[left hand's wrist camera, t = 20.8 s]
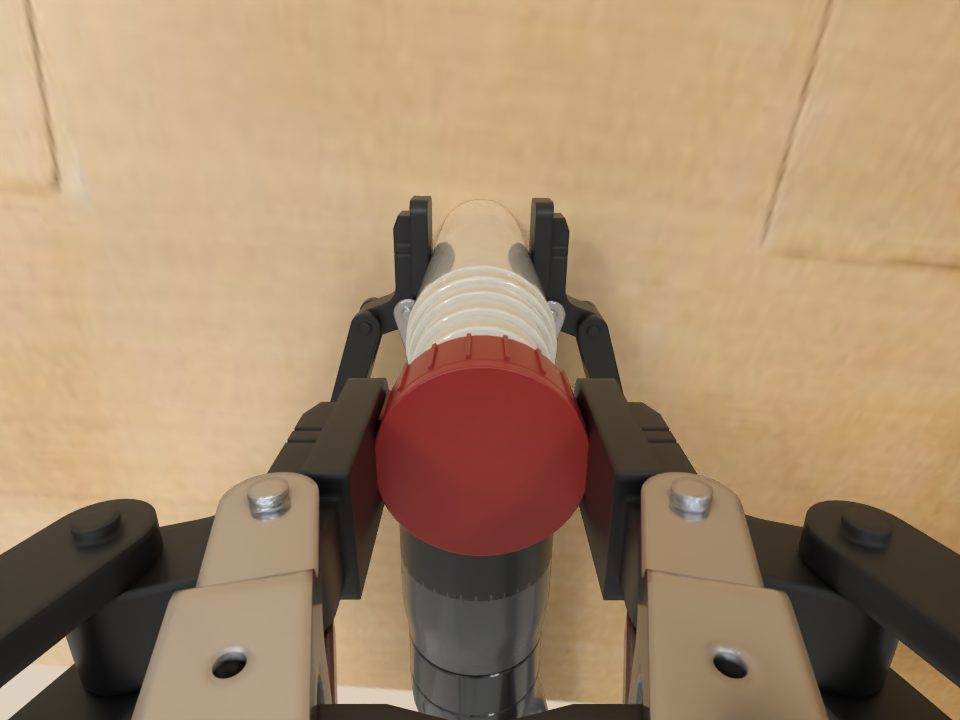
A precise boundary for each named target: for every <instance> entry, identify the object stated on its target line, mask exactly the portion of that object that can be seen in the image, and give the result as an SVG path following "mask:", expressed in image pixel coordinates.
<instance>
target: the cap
mask: <svg viewBox="0 0 960 720" xmlns="http://www.w3.org/2000/svg"><path fill="white" fill-rule="evenodd" d="M378 420H379V421H381V423H380V426H379V429H378V432H377V435H376V438H375V454H376V467H377V481H378V491H379V494H380V496H381V499H382V500H383V502H384V504H385V505H386V507H387V509H388V510H389V512H390V513H391V514H392V515H393V517H394V518H395V519H396V520H397V521H398V522H399V523H400V524H401V525H402V526H403V527H404V528H405V529H406V530H408V531H409V532H410V533H412V534H413V535H414V536H416V537H417V538H419V539H421V540H422V541H424V542H426V543H428V544H430V545H432V546H435V547H437V548H440V549H443V550H446V551H449V552H453V553H458V554H463V555H473V556H491V555H500V554H506V553H510V552H515V551H518V550H521V549H524V548H527V547H529V546H532V545H534V544H536V543H538V542H540V541H542V540H543V539H545V538H546V537H548V536H550V535H551V534H553V533H554V532H555V531H556V530H557V529H559V528H560V527H561V526H562V525H563V524H564V523H565V522H566V521H567V520H568V519H569V518H570V517H571V515H572V514H573V513H574V511H575V510H576V509H577V507H578V506H579V504H580V502H581V500H582V498H583V496H584V494H585V484H586V471H587V458H588V445H589V438H588V434H587V431H586V428H585V424H584V421H583V418H582V415H581V413H580V410H579V407H578V404H577V401H576V400H575V397H574V394H573V392H572V389H571V387H570V384H569V381H568V378H567V375H566V373H565V371H564V370H563V371H560V370H559V369H558V368H557V366H556V365H554V364H553V363H552V362H551V361H550V360H549V359H548V358H547V357H545V356H544V355H543V354H542V353H541V350H540V349H539V348H537V349H536V350H535V349H533V348H531V347H530V346H528V345H526V344H523V343H521V342H518V341H515V340H512V339H508V336H507V335H503V337H499V336H490V335H473V336H471V333H468V334H467V336H466V337H459V338H456V339H452V340H448V341H446V342H443V343H441V344H438V345H437V344H436V343H434V344H432V347H431V348H430V349H429V350H427V351H425V352H424V353H422V354H421V355H420V356H418V357H417V358H416V359H414V360H413V361H412V362H411V363H410V364H408V363H406V364H405V365H404V368H403V371H402V374H401V375H400V376H399V378H398V379H397V381H396V383H395V385H394V386H393V388H392V391H390V390H388V392H387V395H386V398H385V400H384V403H383V406H382V409H381V412H380V415H379V418H378Z"/></svg>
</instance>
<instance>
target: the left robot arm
mask: <svg viewBox="0 0 960 720" xmlns="http://www.w3.org/2000/svg"><path fill="white" fill-rule="evenodd" d="M387 392H388V383H387V380H386V378H349V379H348V380H347V382H346V384H345V385H344V387H343V389H342V391H341V393H340V395H339V397H338V399H337V401H336V402H320V403H319V404H317V405H316V406H315V407H313V408H312V409H310V410H309V411H307V412H306V413H304V414H303V415H302V417H301V418H300V420H299V422H298V423H297V425H296V427H295V431H293V432H292V433H291V435H290V437H289V438H288V442H287V443H285V445H284V446H283V448H282V450H281V451H280V453H279V455H278V456H277V458H276V460H275V461H274V463H273V465H272V466H271V468H270V470H269V471H268V473H267V474H263V475H259V476H256V477H253V478H250V479H247V480H245V481H243V482H241V483H239V484H237V485H235V486H234V487H233V488H231V489H230V490H228V491H227V492H226V493H225V494H224V495H223V497H222V498H221V499H220V502H219V504H218V507H217V511H216V514H215V515H214V516H211V517H207V518H203V519H199V520H194V521H188V522H183V523H178V524H173V525H168V526H163V527H159V523H158V519H157V515H156V511H155V509H154V508H153V506H152V505H150V504H149V503H147V502H144V501H141V500H135V499H117V500H110V501H105V502H100V503H96V504H93V505H89V506H87V507H84V508H81V509H79V510H76V511H74V512H72V513H70V514H68V515H66V516H64V517H62V518H61V519H59V520H57V521H56V522H54V523H52V524H51V525H49V526H47V527H46V528H44V529H42V530H41V531H39V532H38V533H36V534H34V535H33V536H31V537H29V538H28V539H26V540H24V541H23V542H21V543H19V544H18V545H16V546H14V547H13V548H11V549H9V550H8V551H6V552H4V553H3V554H1V555H0V688H1V687H2V686H3V685H5V684H6V683H7V682H8V681H10V680H11V679H12V678H13V677H15V676H16V675H17V674H18V673H20V672H21V671H22V670H23V669H25V668H26V667H27V666H29V665H30V664H31V663H32V662H34V661H35V660H36V659H37V658H39V657H40V656H41V655H42V654H44V653H45V652H46V651H48V650H49V649H50V648H51V647H53V646H54V645H55V644H56V643H58V642H59V641H60V640H61V639H63V638H64V637H65V636H66V638H67V641H68V644H69V647H70V650H71V653H72V656H73V659H74V662H75V664H73V665H72V666H71V667H70V668H69V669H68V670H66V671H65V672H64V673H63V674H62V675H60V676H59V677H58V678H57V679H56V680H55V681H53V682H52V683H51V684H50V685H49V686H47V687H46V688H45V689H44V690H43V691H42V692H40V693H39V694H38V695H37V696H36V697H34V698H33V699H32V700H31V701H30V702H28V703H27V704H26V705H25V706H24V707H23V708H21V709H20V710H19V711H18V712H17V713H15V714H14V715H13V716H12V717H11V718H10V719H8V720H448V719H444V718H440V717H436V716H432V715H428V714H424V713H420V712H416V711H412V710H408V709H404V708H400V707H396V706H392V705H388V704H337V671H336V634H335V626H334V617H335V615H336V612H337V608H338V605H339V602H340V599H361V595H362V591H363V587H364V583H365V579H366V575H367V571H368V567H369V563H370V559H371V555H372V551H373V547H374V543H375V539H376V535H377V531H378V527H379V523H380V519H381V515H382V511H383V507H384V502H383V500H382V499H381V496H380V494H379V491H378V481H377V467H376V454H375V438H376V435H377V432H378V429H379V426H380V423H381V421H379V420H378V418H379V415H380V412H381V409H382V406H383V403H384V400H385V398H386V395H387ZM574 397H575V400H576V401H577V404H578V407H579V410H580V413H581V415H582V418H583V421H584V424H585V428H586V431H587V434H588V438H589V445H588V458H587V471H586V484H585V494H584V496H583V498H582V500H581V502H580V504H579V507H580V511H581V515H582V518H583V522H584V526H585V530H586V534H587V538H588V542H589V546H590V549H591V553H592V557H593V561H594V565H595V569H596V573H597V577H598V580H599V584H600V588H601V592H602V596H603V600H624V601H625V604H626V608H627V617H626V626H625V634H624V671H623V704H572V705H568V706H564V707H560V708H556V709H552V710H548V711H544V712H540V713H536V714H532V715H528V716H524V717H520V718H516V719H512V720H952V719H950V718H949V717H948V716H947V715H946V714H945V713H943V712H942V711H941V710H940V709H939V708H937V707H936V706H935V705H934V704H933V703H932V702H930V701H929V700H928V699H927V698H926V697H924V696H923V695H922V694H921V693H920V692H919V691H917V690H916V689H915V688H914V687H913V686H911V685H910V684H909V683H908V682H907V681H905V680H904V679H903V678H902V677H901V676H900V675H898V674H897V673H896V672H895V671H894V670H892V669H891V668H890V665H891V662H892V659H893V656H894V653H895V650H896V647H897V645H898V642H899V640H900V641H901V642H902V643H904V644H905V645H906V646H907V647H909V648H910V649H911V650H912V651H914V652H915V653H916V654H918V655H919V656H920V657H921V658H923V659H924V660H925V661H926V662H928V663H929V664H930V665H931V666H933V667H934V668H935V669H936V670H938V671H939V672H940V673H942V674H943V675H944V676H945V677H947V678H948V679H949V680H950V681H952V682H953V683H954V684H955V685H957V686H958V687H959V688H960V555H959V554H957V553H956V552H954V551H952V550H951V549H949V548H947V547H946V546H944V545H942V544H941V543H939V542H937V541H936V540H934V539H932V538H931V537H929V536H927V535H926V534H924V533H922V532H921V531H919V530H918V529H916V528H914V527H913V526H911V525H909V524H908V523H906V522H904V521H903V520H901V519H899V518H897V517H895V516H894V515H892V514H889V513H887V512H885V511H883V510H880V509H877V508H874V507H871V506H868V505H864V504H860V503H856V502H849V501H837V500H834V501H824V502H820V503H817V504H815V505H813V506H811V507H810V508H809V510H808V511H807V514H806V518H805V522H804V526H803V527H799V526H794V525H788V524H783V523H778V522H773V521H768V520H763V519H759V518H755V517H752V516H748V515H745V514H744V511H743V507H742V504H741V502H740V499H739V498H738V497H737V495H736V494H735V493H734V492H733V491H732V490H730V489H729V488H727V487H726V486H725V485H723V484H721V483H719V482H717V481H715V480H713V479H710V478H707V477H704V476H701V475H697V473H696V471H695V470H694V468H693V466H692V465H691V463H690V462H689V460H688V458H687V457H686V455H685V454H684V452H683V450H682V449H681V447H680V445H679V444H678V443H676V439H675V437H674V436H673V434H672V433H671V431H669V428H668V426H667V424H666V423H665V421H664V420H663V418H662V416H661V415H660V414H659V413H657V412H656V411H654V410H653V409H651V408H650V407H648V406H647V405H645V404H644V403H642V402H627V400H626V398H625V396H624V395H623V393H622V391H621V389H620V387H619V385H618V383H617V381H616V380H615V379H577V380H576V384H575V391H574Z"/></svg>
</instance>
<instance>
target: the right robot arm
mask: <svg viewBox="0 0 960 720" xmlns="http://www.w3.org/2000/svg"><path fill="white" fill-rule="evenodd" d="M393 233H394V253H395V255H394V257H395V282H396V290H395V291H394V292H393V293H392V294H390V295H387V296H384V297H381V298H369V299H367V300H366V301H365V302H364V303H363V305H362V306H361V308H360V311H359V313H357V314H356V315H355V317H354V318H353V320H352V322H351V325H350V329H349V333H348V337H347V341H346V344H345V348H344V352H343V356H342V360H341V363H340V367H339V371H338V375H337V379H336V382H335V386H334V390H333V394H332V398H331V401H330V402H336V401H337V399H338V397H339V395H340V393H341V391H342V389H343V387H344V385H345V384H346V382H347V380H348V379H349V378H370V376H371V373H372V369H373V366H374V362H375V359H376V355H377V352H378V348H379V345H380V341H381V338H382V334H385V333H388V332H391V331H394V330H397V329H399V332H400V335H401V338H402V341H403V344H404V347H405V350H406V334H407V324H408V320H409V316H410V313H411V311H412V308H413V305H414V302H415V300H416V297H417V294H418V291H419V289H420V286H421V283H422V280H423V278H424V275H425V272H426V270H427V267H428V264H429V261H430V259H431V256H432V253H433V249H432V201H431V196H413V198H412V199H411V200H410V211H402V212H401V213H400V214H399V215H398V217H397V220H396V222H395V225H394V228H393ZM568 243H569V229H568V226H567V223H566V220H565V218H564V217H563V215H562V214H561V213H554V205H553V202H552V200H551V199H550V198H532V204H531V223H530V246H529V254H530V257H531V260H532V262H533V265H534V267H535V270H536V273H537V275H538V278H539V281H540V283H541V286H542V288H543V291H544V294H545V296H546V299H547V302H548V304H549V307H550V309H551V312H552V315H553V318H554V322H555V329H556V340H557V338H558V336H559V333H560V331H562V332H564V333H567V334H570V335H573V336H575V337H576V340H577V344H578V348H579V352H580V356H581V360H582V364H583V367H584V371H585V375H586V379H615V380H616V381H617V383H618V385H619V387H620V389H621V391H622V393H623V390H622V386H621V382H620V377H619V373H618V369H617V365H616V360H615V356H614V352H613V348H612V343H611V339H610V335H609V331H608V327H607V324H606V322H605V321H604V319H603V318H602V316H601V315H600V313H599V311H598V310H597V308H596V307H595V305H594V304H593V303H591V302H589V301H580V300H577V299H574V298H572V297H570V296H568V295H567V294H566V293H565V287H566V272H567V255H568ZM552 543H553V534H551V535H550V536H548V537H546V538H545V539H543V540H542V541H540V542H538V543H536V544H534V545H532V546H529V547H527V548H524V549H521V550H518V551H515V552H510V553H506V554H500V555H491V556H473V555H463V554H458V553H453V552H449V551H446V550H443V549H440V548H437V547H435V546H432V545H430V544H428V543H426V542H424V541H422V540H421V539H419V538H417V537H416V536H414V535H413V534H412V533H410V532H409V531H408V530H406V529H405V528H404V527H403V526H402V525H401V524H400V545H401V567H402V588H403V599H404V604H405V609H406V613H407V617H408V622H409V630H410V655H411V680H412V688H413V695H414V700H415V703H416V706H417V709H418V711H419V712H420V713H424V714H428V715H432V716H436V717H440V718H444V719H448V720H512V719H516V718H520V717H524V716H528V715H532V714H536V713H540V712H544V711H548V708H547V704H546V700H545V696H544V692H543V689H542V686H541V683H540V680H539V677H538V672H539V660H540V645H541V630H542V623H543V619H544V615H545V611H546V607H547V602H548V596H549V585H550V572H551V558H552Z"/></svg>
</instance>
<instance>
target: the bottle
mask: <svg viewBox="0 0 960 720" xmlns="http://www.w3.org/2000/svg"><path fill="white" fill-rule="evenodd" d="M468 333H471V336H473V335H490V336H499V337H503V335H507V336H508V339H512V340H515V341H518V342H521V343H523V344H526V345H528V346H530V347H531V348H533V349H535V350H536V349H537V348H539V349H540V350H541V353H542V354H543V355H544V356H545V357H547V358H548V359H549V360H550V361H551V362H552V363H553V364H554V365H555V360H556V354H557V340H556V329H555V322H554V318H553V315H552V312H551V309H550V307H549V304H548V302H547V299H546V296H545V294H544V291H543V288H542V286H541V283H540V281H539V278H538V275H537V273H536V270H535V267H534V265H533V262H532V260H531V257H530V254H529V252H528V249H527V246H526V244H525V241H524V239H523V236H522V233H521V231H520V228H519V226H518V223H517V221H516V219H515V218H514V216H513V215H512V214H511V213H510V212H509V211H508V210H507V209H506V208H505V207H503V206H502V205H500V204H498V203H496V202H493V201H489V200H472V201H468V202H466V203H463V204H461V205H460V206H458V207H456V208H455V209H454V210H453V211H452V212H451V213H450V214H449V215H448V217H447V218H446V220H445V221H444V223H443V226H442V229H441V231H440V234H439V237H438V239H437V242H436V245H435V248H434V250H433V253H432V256H431V259H430V261H429V264H428V267H427V270H426V272H425V275H424V278H423V280H422V283H421V286H420V289H419V291H418V294H417V297H416V300H415V302H414V305H413V308H412V311H411V313H410V316H409V320H408V324H407V334H406V357H407V362H408V364H410V363H411V362H412V361H413V360H414V359H416V358H417V357H418V356H420V355H421V354H422V353H424V352H425V351H427V350H429V349H430V348H431V347H432V344H434V343H436V344H437V345H438V344H441V343H443V342H446V341H448V340H452V339H456V338H459V337H466V336H467V334H468Z"/></svg>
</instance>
